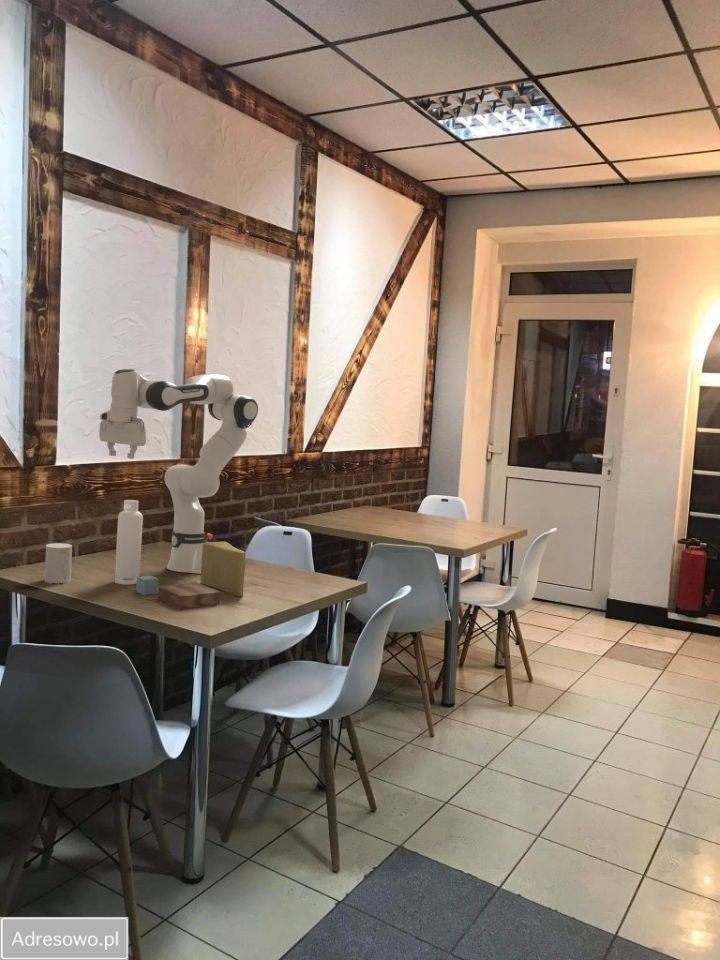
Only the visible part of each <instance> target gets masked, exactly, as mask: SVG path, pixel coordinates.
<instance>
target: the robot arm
mask: <svg viewBox="0 0 720 960" xmlns="http://www.w3.org/2000/svg"><path fill="white" fill-rule="evenodd" d="M110 392H111V393H110V395H111V403H110V410H109V409H108V410H107V411H105V412H103V413H100V415H99V419H100V423H99V431H98V432H99V433H98V435H99V440H100V441H101V442H104V443H106V446H107V449H108V455H109V456H110V457H111V456H112V457H116V456H117V450H115V446H116V444H120V445H127V446H129V449H130V450H129V452H127V459H130V460H131V459H132V460H133V459H135V454H136V452H137V450H138V447H144V446H145V445H146V443H147V435H146V434H147V432H146V431H147V430H146V427H145V422H144V420H143V419H142V418H138V407H139V408H141V409H151V410H157V411H161V412H166V411H169V410H171V409H173V408H174V407H176V406H177V405H179V404H185V403H186V404H187V403H190V404H194V405H207V409H208V413H209V415H210V416H211V417H212V418H214V419H215V420H218V421H221V422H222V423H221V426H220V427H219V429H218V430H216V432H215V433H214V434H212V436H211V437H210V438H209V439H208V440H207V442H206V443H205V444H204V445H203V446H201V448H200V450H199V460H197V463H195V464H194V465H189V464H188V465H187V464H185V463H184V464H175V465H172V466H170V467H168V468H167V470H166V471H165V473H164V479H163V480H164V483H165V485H166V487H167V489H168V490H169V493H170V496H171V499H172V500H171V501H172V504H173V512H174V514H173V515H174V516H173V530H172V532H171V533H172V534H171V551H170V556H169V560H168V563H167V567H166V569H167V570H169V571H173V572H178V573H188V574H189V573H191V574H200V575H201V565H202V548H203V543H206V542H208V540H212V539H213V536H214V535H213V534H212V533H206V532H205V531H204V530H205V529H204V527H205V515H206V514H205V510H204V508H203V506H201V503H200V501H199V498H210V497H213V496H215V494H216V493H217V492H218V491H219V488H220V485H221V484H220V475H221V473H222V471H223V469H224V468H225V466H227V464H228V463H229V462H230V461H231V460H232V459H233V457H234V456H235V455H236V454H237V452H238V451H239V450H240V449H241V447H242V445H243V444H244V443H245V441H246V440H247V438H248V437H247V436H248V433H247V430H246V429H247V428H250V427H251V426H252V424H253V422H254V421H255V420H256V418H257V416H258V413H259V405H258V403H257V401H256V399H253V398H252V397H251V396H247V395H242V394H238V393H237V394H236V393H234V383H233V381H232V380H231V379H230V377H228V376H226V375H222V374H215V373H214V374H213V373H211V374H210V373H208V374H207V373H205V374H198V375H194V376H191V377H189V378H188V379H187V380H186V382H185V383H184V384H178V385H177V384H174V383H172V382H170V381H166V380H158V381H156V380H149V379H148V378H145V377H144V376H142V375H141V374H140V373H139V371H138V370H136V369H134V368H123V369H118V370H115V371H114V373H113V376H112V380H111V390H110Z"/></svg>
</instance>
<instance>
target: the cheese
mask: <svg viewBox="0 0 720 960" xmlns="http://www.w3.org/2000/svg"><path fill="white" fill-rule="evenodd" d="M245 572H246V552H245V551H244V550H241V549H240V548H239V549H238V548H236V547H234V546H233V545H232V544H230V543H229V542H227V541H207V542H206V543H203V548H202V565H201V573H200V584H202V585H204V586H207V587H212V588H214V589H217V590H220V591H223V592H225V593H227V594H230V595H232V596H235V597H239V598H240V597H243V596H244V587H245V586H244V583H245V574H246V573H245Z"/></svg>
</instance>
